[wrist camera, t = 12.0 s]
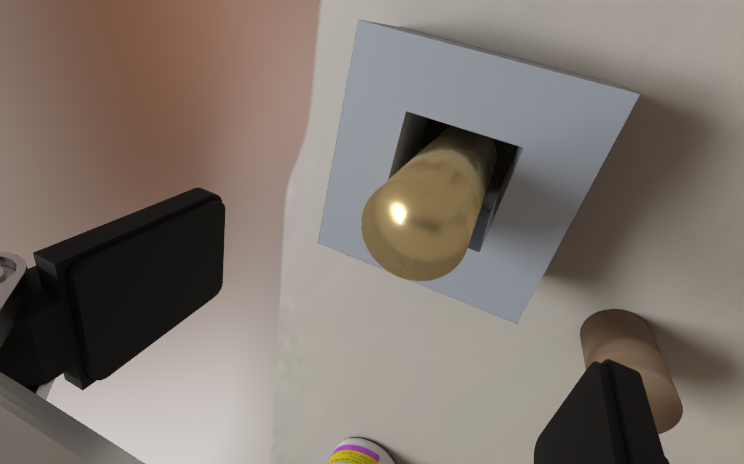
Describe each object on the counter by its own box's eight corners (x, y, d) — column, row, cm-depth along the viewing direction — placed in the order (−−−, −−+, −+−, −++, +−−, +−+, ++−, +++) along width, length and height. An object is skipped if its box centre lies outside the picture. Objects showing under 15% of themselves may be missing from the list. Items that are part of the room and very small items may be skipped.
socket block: (397, 26, 23) (358, 19, 18) (613, 83, 20) (640, 94, 15) (356, 208, 29) (317, 242, 23) (520, 270, 26) (516, 324, 21)
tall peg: (442, 115, 24) (374, 163, 14) (507, 135, 23) (486, 202, 13) (423, 175, 26) (351, 257, 16) (483, 196, 25) (448, 296, 15)
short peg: (598, 299, 25) (614, 363, 20) (665, 325, 24) (701, 398, 19) (569, 344, 27) (577, 413, 22) (630, 369, 26) (654, 447, 21)
